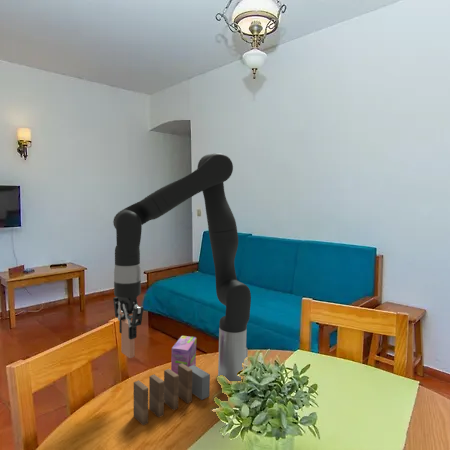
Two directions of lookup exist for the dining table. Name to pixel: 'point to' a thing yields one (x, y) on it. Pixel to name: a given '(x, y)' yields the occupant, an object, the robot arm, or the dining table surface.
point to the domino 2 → (156, 395)
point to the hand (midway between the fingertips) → (127, 335)
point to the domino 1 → (141, 402)
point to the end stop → (200, 382)
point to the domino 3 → (171, 388)
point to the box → (183, 352)
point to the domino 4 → (185, 383)
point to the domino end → (127, 340)
